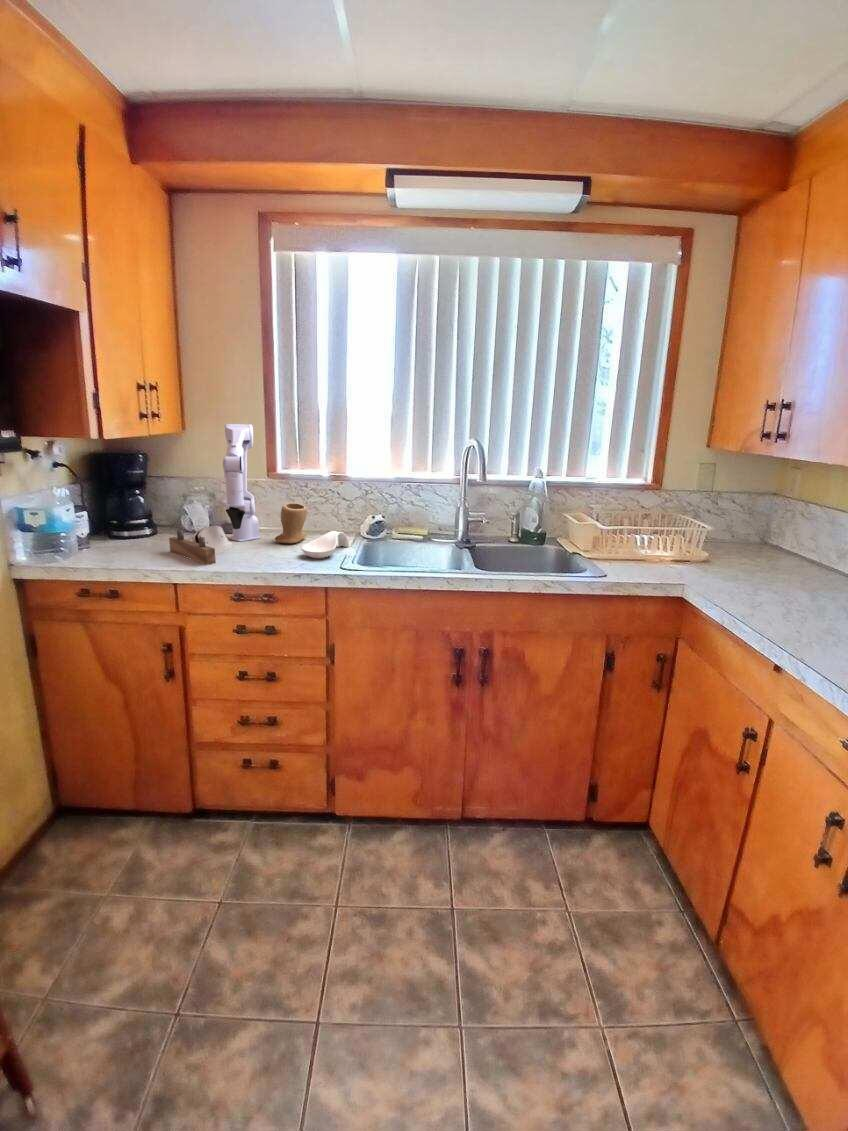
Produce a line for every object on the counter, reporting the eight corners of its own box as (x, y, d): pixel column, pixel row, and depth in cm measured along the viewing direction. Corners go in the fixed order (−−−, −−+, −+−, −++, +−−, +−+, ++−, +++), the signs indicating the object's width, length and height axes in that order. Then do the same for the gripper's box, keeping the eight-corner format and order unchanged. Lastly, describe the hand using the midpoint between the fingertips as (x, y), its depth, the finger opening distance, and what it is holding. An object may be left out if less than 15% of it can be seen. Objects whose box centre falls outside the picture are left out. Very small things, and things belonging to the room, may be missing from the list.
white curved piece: (211, 557, 192) (199, 529, 190) (199, 561, 193) (187, 533, 191) (233, 546, 208) (223, 521, 206) (222, 550, 209) (212, 524, 207)
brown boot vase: (300, 546, 212) (299, 507, 208) (270, 544, 214) (269, 505, 210) (315, 538, 226) (314, 501, 222) (287, 536, 228) (286, 499, 224)
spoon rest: (324, 562, 191) (324, 542, 189) (295, 558, 195) (294, 538, 193) (357, 548, 212) (357, 530, 211) (330, 545, 216) (329, 526, 215)
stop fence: (178, 550, 199) (176, 528, 197) (215, 563, 185) (214, 539, 183) (170, 551, 197) (168, 529, 195) (207, 564, 182) (205, 540, 180)
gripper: (213, 489, 200) (215, 526, 204) (236, 494, 191) (238, 533, 195) (230, 487, 205) (232, 524, 209) (254, 492, 196) (256, 530, 200)
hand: (236, 528), depth 202 cm, fingers closed
